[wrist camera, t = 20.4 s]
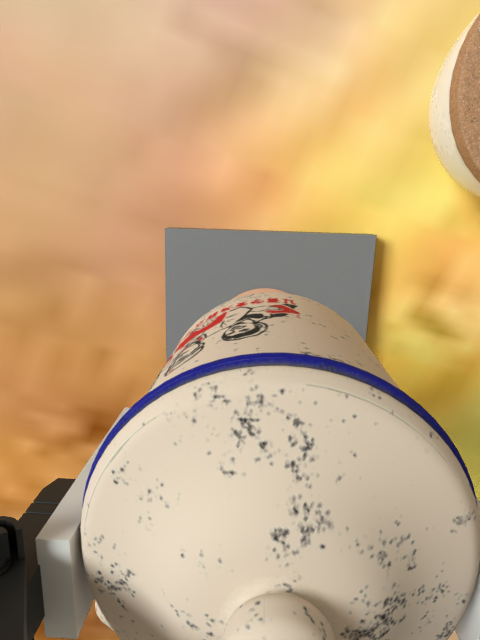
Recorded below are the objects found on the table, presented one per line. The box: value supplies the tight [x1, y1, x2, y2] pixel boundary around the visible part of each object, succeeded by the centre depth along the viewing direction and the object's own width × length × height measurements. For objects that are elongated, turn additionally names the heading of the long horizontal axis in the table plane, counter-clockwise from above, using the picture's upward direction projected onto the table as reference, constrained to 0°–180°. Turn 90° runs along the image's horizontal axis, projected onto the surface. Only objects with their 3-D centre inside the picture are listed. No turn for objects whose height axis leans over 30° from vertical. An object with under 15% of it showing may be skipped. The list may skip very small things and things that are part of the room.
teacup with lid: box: [80, 292, 480, 640], centre depth 13 cm, size 12×9×12 cm
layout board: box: [165, 227, 377, 361], centre depth 32 cm, size 13×30×1 cm, turn 178°
